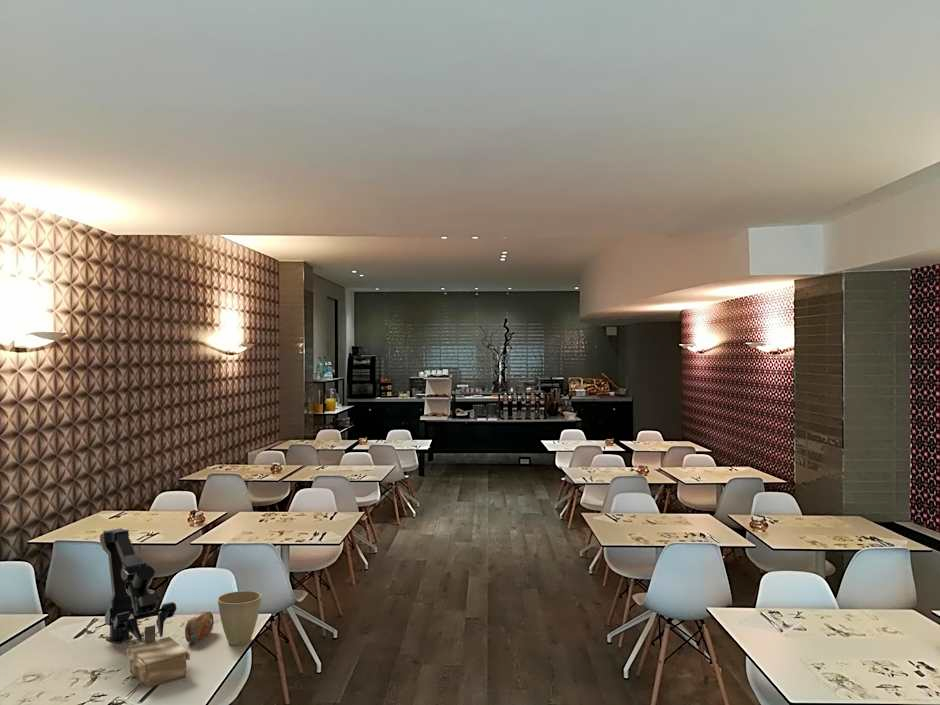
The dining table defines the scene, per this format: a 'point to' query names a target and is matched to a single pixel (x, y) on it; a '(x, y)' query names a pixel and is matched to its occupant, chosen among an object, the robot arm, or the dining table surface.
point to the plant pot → (239, 615)
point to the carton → (160, 671)
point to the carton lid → (154, 650)
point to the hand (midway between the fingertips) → (151, 638)
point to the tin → (199, 627)
